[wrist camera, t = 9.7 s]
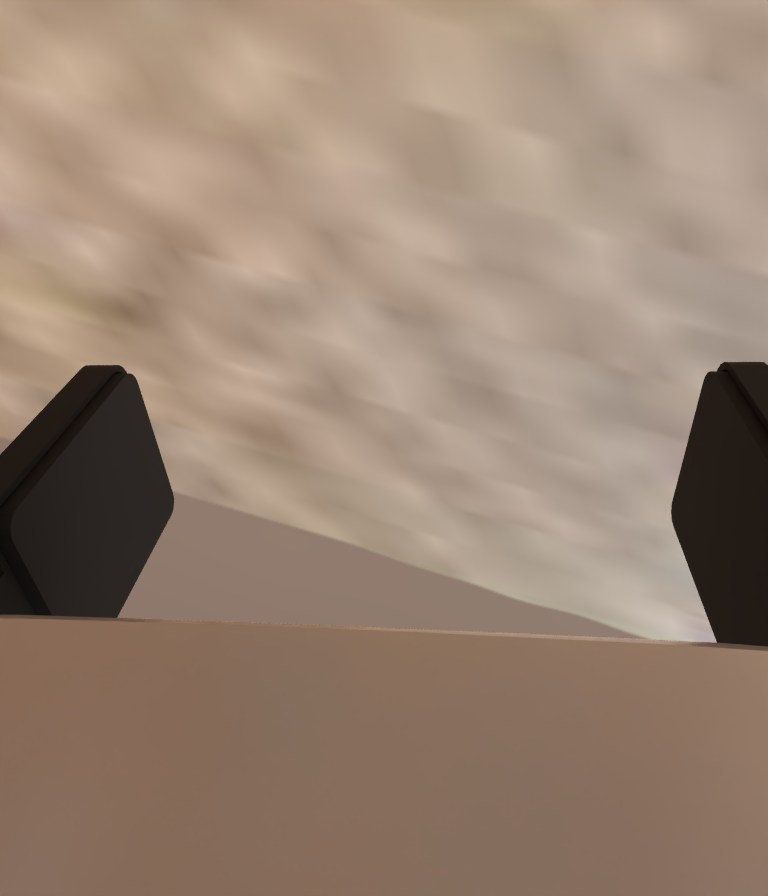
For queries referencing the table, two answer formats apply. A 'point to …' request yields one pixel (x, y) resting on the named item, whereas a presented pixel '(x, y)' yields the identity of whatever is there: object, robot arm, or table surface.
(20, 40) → the table surface
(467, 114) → the table surface
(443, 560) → the table surface
